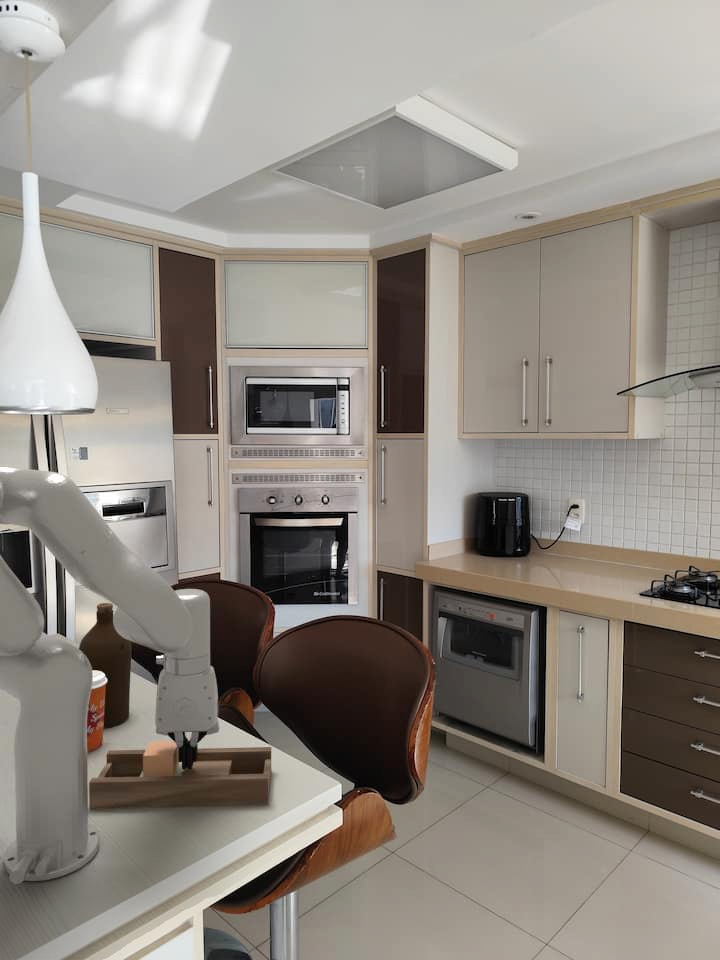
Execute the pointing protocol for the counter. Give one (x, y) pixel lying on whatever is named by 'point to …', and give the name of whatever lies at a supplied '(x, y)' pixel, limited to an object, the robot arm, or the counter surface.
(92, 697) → the paper cup
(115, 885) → the counter surface
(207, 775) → the box
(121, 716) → the olive oil
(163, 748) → the block
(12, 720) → the counter surface
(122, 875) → the counter surface
